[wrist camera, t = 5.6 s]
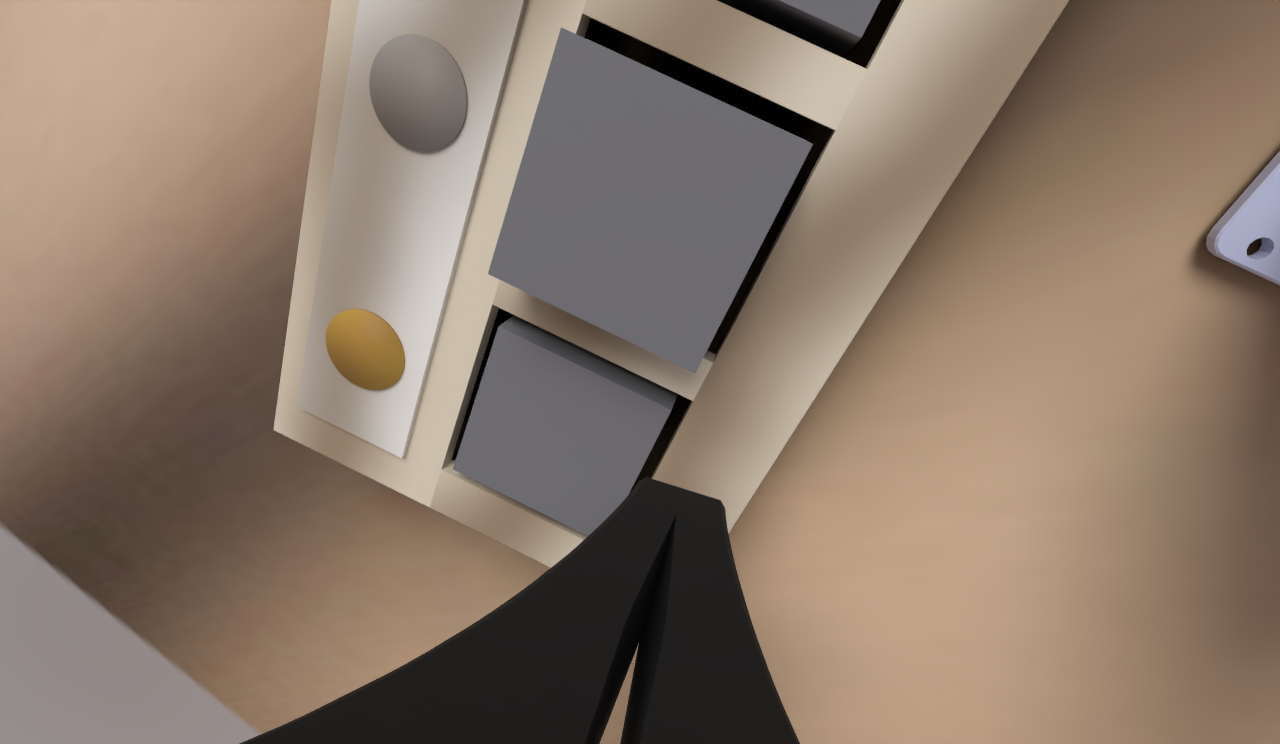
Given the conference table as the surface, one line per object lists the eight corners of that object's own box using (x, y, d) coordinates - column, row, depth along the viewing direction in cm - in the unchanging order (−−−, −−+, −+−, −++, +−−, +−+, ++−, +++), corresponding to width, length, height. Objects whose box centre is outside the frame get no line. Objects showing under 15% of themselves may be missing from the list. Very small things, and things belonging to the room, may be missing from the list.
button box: (1159, -243, 12) (1347, -424, 8) (687, 543, 22) (667, 633, 18) (537, -512, 12) (425, -808, 8) (355, 380, 22) (266, 434, 18)
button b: (805, 139, 14) (813, 144, 10) (712, 323, 16) (694, 373, 13) (610, 49, 14) (560, 27, 11) (545, 244, 16) (487, 273, 13)
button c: (690, 360, 18) (671, 409, 15) (630, 479, 20) (603, 543, 17) (546, 291, 18) (498, 326, 15) (503, 416, 21) (452, 469, 17)
